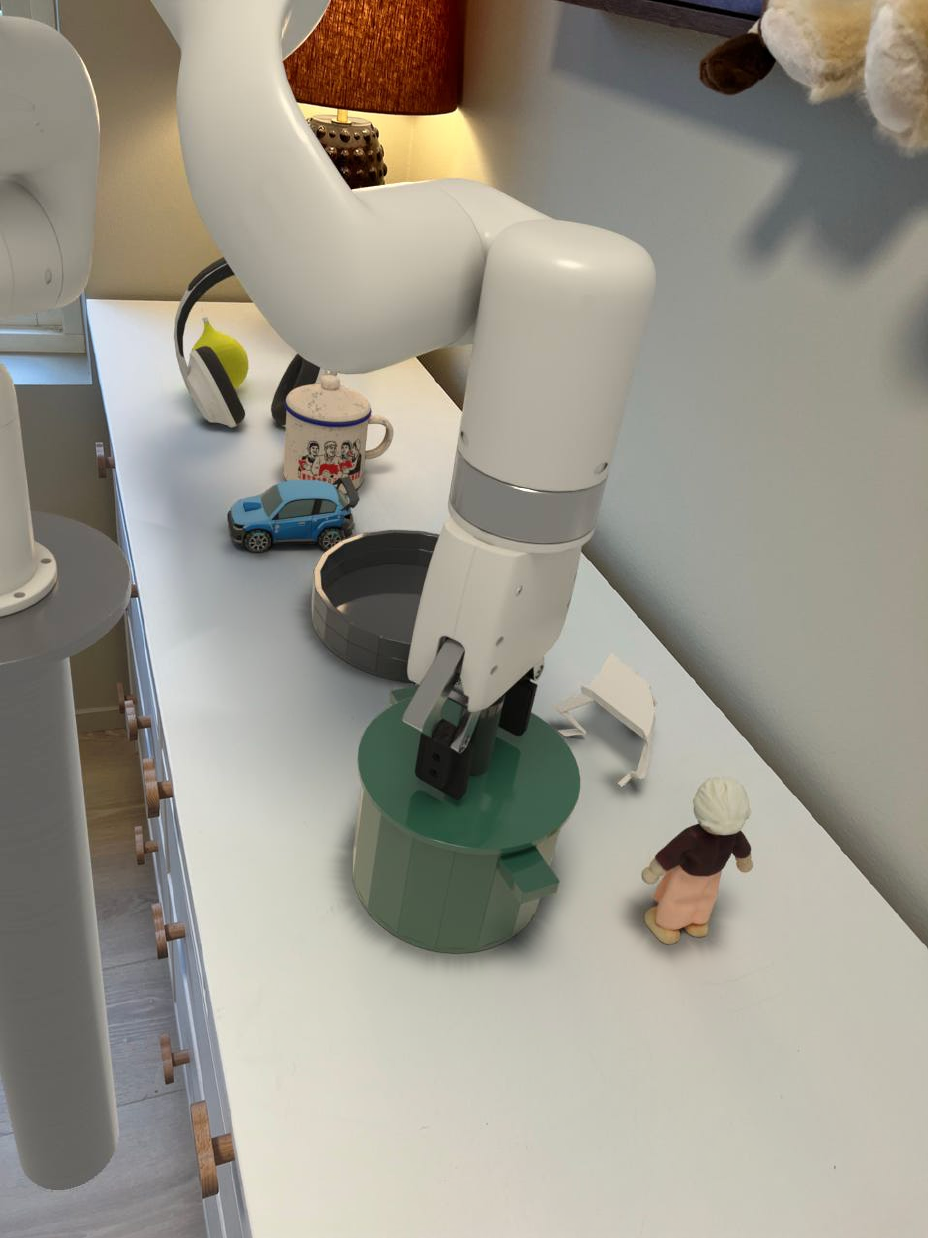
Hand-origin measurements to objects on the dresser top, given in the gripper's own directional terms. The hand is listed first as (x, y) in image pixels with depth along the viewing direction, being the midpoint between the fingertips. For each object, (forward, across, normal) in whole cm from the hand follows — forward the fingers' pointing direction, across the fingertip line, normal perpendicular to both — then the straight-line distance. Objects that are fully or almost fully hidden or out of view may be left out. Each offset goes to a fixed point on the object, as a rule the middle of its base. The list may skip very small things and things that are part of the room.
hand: (472, 752), depth 58 cm
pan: (+11, -22, -18) cm, 31 cm away
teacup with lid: (+11, -38, -40) cm, 57 cm away
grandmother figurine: (+11, -6, +14) cm, 19 cm away
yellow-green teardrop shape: (+11, -46, -65) cm, 80 cm away
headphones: (+11, -42, -55) cm, 70 cm away
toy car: (+11, -25, -35) cm, 45 cm away
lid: (+1, 0, 0) cm, 1 cm away
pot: (+11, 0, 0) cm, 11 cm away
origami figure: (+11, -19, +3) cm, 22 cm away
